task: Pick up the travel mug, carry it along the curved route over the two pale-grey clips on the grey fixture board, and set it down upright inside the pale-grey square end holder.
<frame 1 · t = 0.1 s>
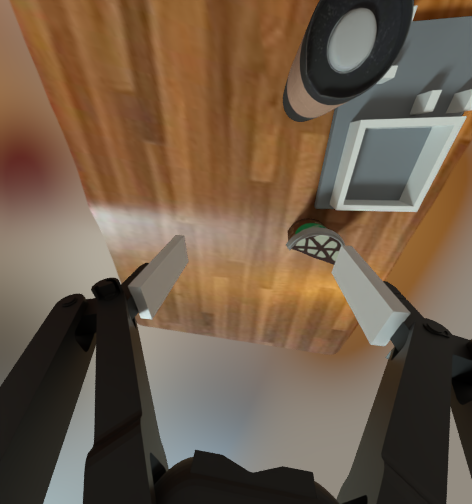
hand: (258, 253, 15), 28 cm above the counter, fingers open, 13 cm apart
grey fixture board: (384, 135, 32), on the counter
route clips: (395, 83, 28), resting on grey fixture board
end holder: (373, 166, 34), resting on grey fixture board
travel mug: (303, 96, 31), on the counter
food container: (311, 226, 42), on the counter
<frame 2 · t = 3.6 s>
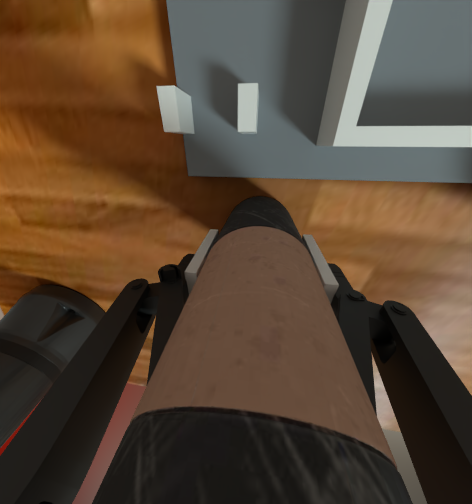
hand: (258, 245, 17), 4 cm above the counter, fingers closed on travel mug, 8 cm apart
grey fixture board: (366, 22, 12), on the counter
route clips: (259, 49, 13), resting on grey fixture board
end holder: (450, 17, 11), resting on grey fixture board
travel mug: (259, 226, 20), on the counter, touching gripper
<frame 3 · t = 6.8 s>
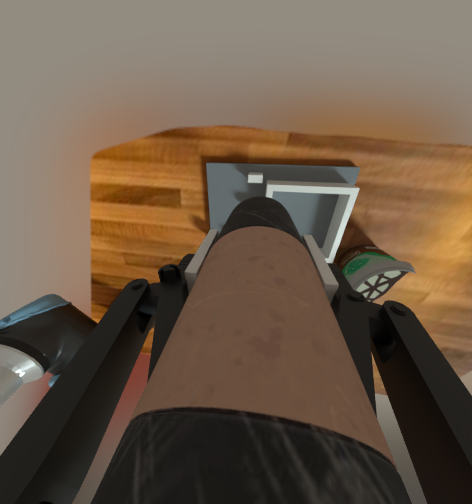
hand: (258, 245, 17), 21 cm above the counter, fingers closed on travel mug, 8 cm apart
grey fixture board: (272, 215, 37), on the counter
end holder: (297, 216, 36), resting on grey fixture board
travel mug: (258, 226, 20), point 17 cm above the counter, touching gripper
food container: (348, 258, 40), on the counter
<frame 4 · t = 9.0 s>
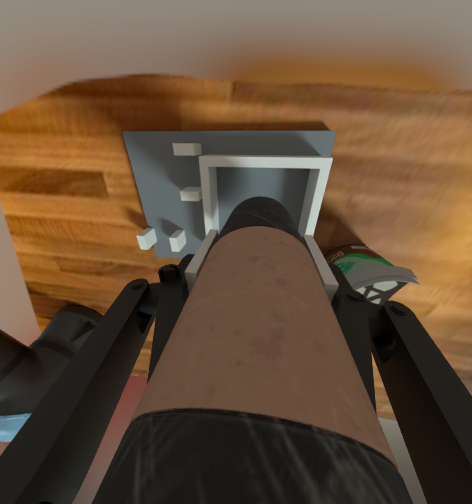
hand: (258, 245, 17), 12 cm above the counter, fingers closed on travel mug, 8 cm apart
grey fixture board: (226, 205, 28), on the counter
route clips: (184, 209, 29), resting on grey fixture board
end holder: (259, 206, 27), resting on grey fixture board
travel mug: (259, 226, 20), point 8 cm above the counter, touching gripper
food container: (331, 261, 31), on the counter
when the fingers open (7 cm above the counter, at t = 10.4 s): travel mug drops 1 cm, resting on grey fixture board.
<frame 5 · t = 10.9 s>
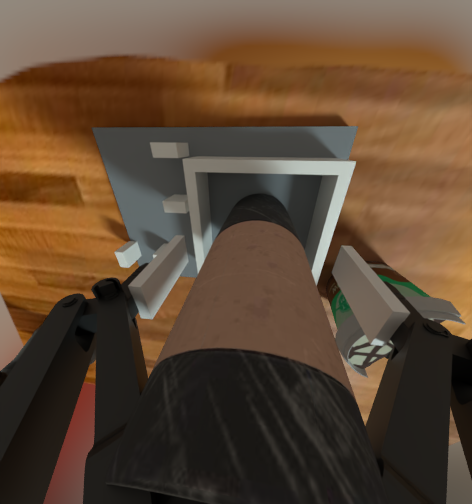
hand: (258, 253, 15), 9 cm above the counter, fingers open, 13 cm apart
grey fixture board: (221, 216, 23), on the counter
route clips: (171, 220, 25), resting on grey fixture board
end holder: (259, 217, 23), resting on grey fixture board
travel mug: (258, 222, 22), point 1 cm above the counter, touching grey fixture board
food container: (343, 279, 26), on the counter
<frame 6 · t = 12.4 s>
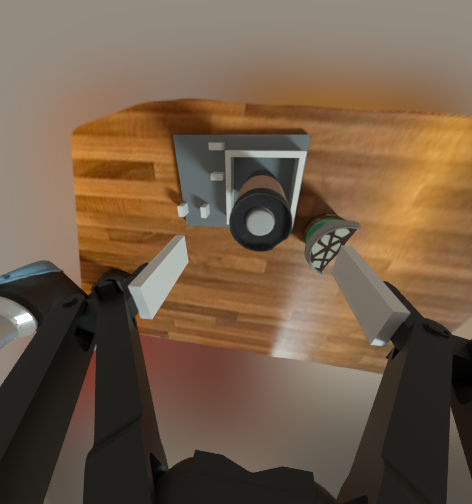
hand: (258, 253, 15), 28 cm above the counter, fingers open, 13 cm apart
grey fixture board: (239, 185, 40), on the counter
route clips: (209, 189, 41), resting on grey fixture board
end holder: (261, 186, 39), resting on grey fixture board
travel mug: (261, 188, 38), point 1 cm above the counter, touching grey fixture board
food container: (313, 227, 43), on the counter
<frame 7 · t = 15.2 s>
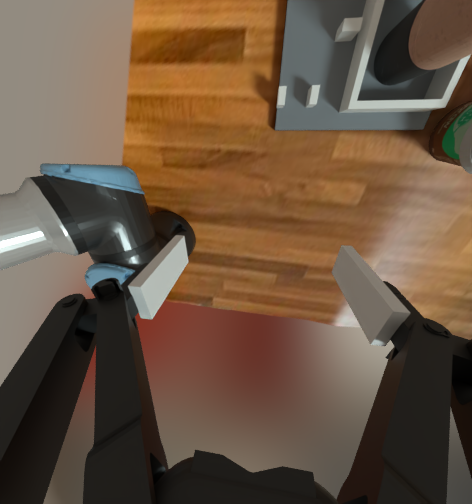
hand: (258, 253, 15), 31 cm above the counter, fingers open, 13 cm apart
grey fixture board: (361, 60, 29), on the counter
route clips: (315, 70, 31), resting on grey fixture board
end holder: (393, 59, 29), resting on grey fixture board
travel mug: (398, 55, 28), point 1 cm above the counter, touching grey fixture board
food container: (447, 126, 32), on the counter
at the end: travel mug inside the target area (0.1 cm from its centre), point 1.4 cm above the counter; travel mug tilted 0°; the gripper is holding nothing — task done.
